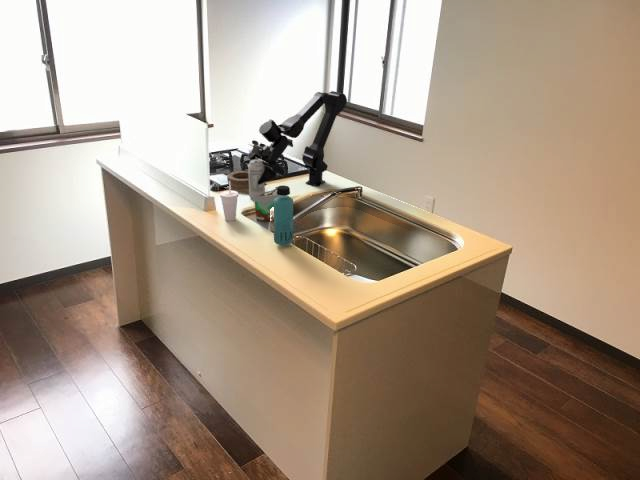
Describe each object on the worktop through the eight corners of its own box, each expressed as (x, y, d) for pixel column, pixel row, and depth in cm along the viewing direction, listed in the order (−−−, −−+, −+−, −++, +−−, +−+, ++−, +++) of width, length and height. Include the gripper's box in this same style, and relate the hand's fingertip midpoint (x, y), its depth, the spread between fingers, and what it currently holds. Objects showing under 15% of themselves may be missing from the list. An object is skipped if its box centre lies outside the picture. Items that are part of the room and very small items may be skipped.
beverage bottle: (278, 251, 167) (277, 191, 158) (270, 242, 172) (269, 184, 164) (296, 247, 170) (297, 188, 161) (288, 239, 175) (288, 182, 166)
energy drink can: (266, 195, 210) (265, 159, 204) (263, 201, 205) (262, 164, 198) (251, 194, 211) (250, 158, 204) (247, 200, 205) (246, 163, 199)
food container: (266, 226, 184) (266, 199, 180) (253, 221, 187) (252, 195, 183) (289, 215, 193) (289, 190, 189) (276, 211, 196) (276, 186, 192)
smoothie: (242, 217, 190) (241, 180, 184) (232, 223, 185) (231, 185, 179) (227, 214, 193) (226, 177, 187) (217, 220, 188) (215, 182, 181)
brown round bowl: (237, 178, 228) (236, 168, 226) (265, 183, 223) (265, 173, 221) (218, 188, 216) (218, 177, 214) (248, 194, 211) (248, 183, 209)
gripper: (250, 131, 206) (227, 163, 204) (278, 142, 193) (254, 176, 192) (267, 148, 214) (245, 179, 213) (295, 159, 202) (272, 192, 200)
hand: (253, 181), depth 204 cm, fingers open, 6 cm apart
